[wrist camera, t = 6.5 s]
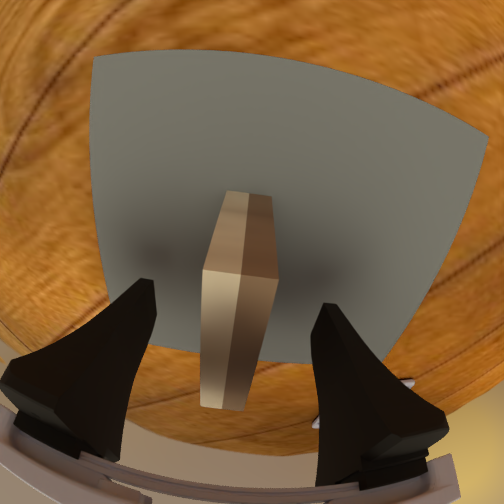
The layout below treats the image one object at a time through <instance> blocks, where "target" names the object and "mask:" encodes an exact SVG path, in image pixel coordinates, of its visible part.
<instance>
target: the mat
mask: <svg viewBox="0 0 504 504" xmlns="http://www.w3.org/2000/svg"><path fill="white" fill-rule="evenodd" d="M488 138H489V137H488V136H487V135H485V134H484V133H482V132H480V131H479V130H477V129H475V128H474V127H472V126H470V125H469V124H467V123H465V122H463V121H462V120H460V119H458V118H456V117H454V116H452V115H450V114H449V113H447V112H445V111H443V110H441V109H439V108H437V107H435V106H432V105H430V104H428V103H426V102H424V101H422V100H419V99H417V98H415V97H413V96H410V95H408V94H405V93H403V92H400V91H398V90H395V89H393V88H390V87H388V86H385V85H382V84H379V83H376V82H374V81H371V80H368V79H365V78H361V77H358V76H355V75H352V74H348V73H345V72H341V71H338V70H334V69H330V68H326V67H322V66H318V65H314V64H309V63H305V62H300V61H295V60H290V59H284V58H278V57H272V56H265V55H258V54H249V53H240V52H229V51H213V50H154V51H139V52H128V53H119V54H111V55H104V56H97V57H94V61H93V70H92V82H91V96H90V168H91V184H92V195H93V206H94V214H95V222H96V230H97V237H98V243H99V249H100V255H101V261H102V266H103V271H104V276H105V281H106V286H107V290H108V295H109V299H110V303H112V302H113V301H114V300H116V299H117V298H118V297H119V296H120V295H121V294H122V293H124V292H125V291H126V290H127V289H128V288H129V287H130V286H131V285H133V284H134V283H135V282H136V281H137V280H138V279H140V278H145V279H151V280H154V288H155V299H156V308H157V317H156V321H155V325H154V328H153V332H152V335H151V338H150V340H149V343H148V344H152V345H157V346H162V347H167V348H172V349H178V350H184V351H190V352H196V353H200V338H201V298H202V273H203V267H204V263H205V260H206V256H207V253H208V250H209V246H210V243H211V240H212V236H213V233H214V230H215V227H216V223H217V220H218V217H219V214H220V210H221V207H222V204H223V201H224V198H225V195H226V192H227V190H228V191H236V192H244V193H251V194H258V195H265V196H272V206H273V217H274V228H275V238H276V250H277V261H278V273H279V282H278V286H277V290H276V294H275V297H274V301H273V305H272V309H271V313H270V317H269V321H268V324H267V328H266V332H265V336H264V339H263V343H262V347H261V351H260V354H259V358H258V360H260V361H271V362H284V363H301V364H312V358H311V342H310V334H311V331H312V329H313V327H314V324H315V322H316V319H317V317H318V315H319V312H320V310H321V307H322V305H323V302H324V303H334V304H337V305H338V306H339V308H340V309H341V311H342V312H343V313H344V315H345V316H346V318H347V319H348V320H349V322H350V323H351V325H352V326H353V327H354V329H355V330H356V332H357V333H358V334H359V336H360V337H361V338H362V340H363V341H364V342H365V343H366V345H367V346H368V347H369V348H370V350H371V351H372V352H373V353H374V354H375V356H376V357H377V358H378V359H379V360H380V361H381V362H382V361H383V360H384V358H385V357H386V356H387V354H388V353H389V352H390V350H391V349H392V347H393V346H394V344H395V343H396V342H397V340H398V339H399V337H400V336H401V334H402V333H403V331H404V330H405V328H406V327H407V325H408V323H409V322H410V320H411V319H412V317H413V315H414V314H415V312H416V311H417V309H418V307H419V306H420V304H421V302H422V300H423V299H424V297H425V295H426V293H427V292H428V290H429V288H430V286H431V285H432V283H433V281H434V279H435V277H436V275H437V273H438V271H439V269H440V267H441V265H442V263H443V261H444V259H445V257H446V255H447V253H448V251H449V249H450V247H451V245H452V242H453V240H454V238H455V236H456V233H457V231H458V229H459V226H460V224H461V222H462V219H463V217H464V214H465V212H466V209H467V206H468V204H469V201H470V198H471V195H472V193H473V190H474V187H475V184H476V181H477V178H478V175H479V171H480V168H481V165H482V161H483V158H484V154H485V150H486V146H487V142H488Z"/></svg>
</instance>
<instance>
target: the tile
mask: <svg viewBox="0 0 504 504" xmlns="http://www.w3.org/2000/svg"><path fill="white" fill-rule="evenodd" d="M278 282H279V273H278V261H277V250H276V238H275V228H274V217H273V206H272V196H265V195H258V194H251V193H244V192H236V191H228V190H227V192H226V195H225V198H224V201H223V204H222V207H221V210H220V214H219V217H218V220H217V223H216V227H215V230H214V233H213V236H212V240H211V243H210V246H209V250H208V253H207V256H206V260H205V263H204V267H203V273H202V298H201V338H200V402H201V406H204V407H211V408H219V409H227V410H237V411H243V410H244V407H245V404H246V400H247V397H248V393H249V390H250V386H251V383H252V379H253V376H254V372H255V369H256V365H257V361H258V358H259V354H260V351H261V347H262V343H263V339H264V336H265V332H266V328H267V324H268V321H269V317H270V313H271V309H272V305H273V301H274V297H275V294H276V290H277V286H278Z"/></svg>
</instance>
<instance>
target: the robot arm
mask: <svg viewBox="0 0 504 504" xmlns="http://www.w3.org/2000/svg"><path fill="white" fill-rule="evenodd" d="M156 317H157V308H156V299H155V288H154V280H151V279H145V278H140V279H138V280H137V281H136V282H135V283H134V284H133V285H131V286H130V287H129V288H128V289H127V290H126V291H125V292H124V293H122V294H121V295H120V296H119V297H118V298H117V299H116V300H114V301H113V302H112V303H111V304H110V305H109V306H108V307H106V308H105V309H104V310H103V311H101V312H100V313H99V314H98V315H96V316H95V317H94V318H93V319H91V320H90V321H89V322H87V323H86V324H84V325H83V326H81V327H80V328H78V329H77V330H75V331H74V332H72V333H71V334H69V335H67V336H65V337H63V338H62V339H60V340H58V341H56V342H55V343H53V344H51V345H48V346H46V347H44V348H42V349H40V350H37V351H35V352H33V353H30V354H27V355H24V356H21V357H19V358H16V359H12V360H11V361H10V363H9V365H8V367H7V369H6V370H5V372H4V374H3V376H2V377H1V380H0V389H1V391H2V392H3V393H4V395H5V396H6V397H8V399H9V400H10V401H11V402H12V403H13V404H14V405H15V406H16V407H17V408H18V409H19V411H18V413H17V415H16V414H15V413H14V412H12V411H11V410H10V409H8V408H6V407H5V406H3V405H2V404H0V464H1V465H2V466H3V467H5V468H6V469H7V470H9V471H10V472H11V473H12V474H14V475H15V476H17V477H18V478H19V479H21V480H22V481H24V482H25V483H26V484H28V485H29V486H31V487H32V488H34V489H35V490H37V491H39V492H40V493H42V494H44V495H45V496H47V497H48V498H50V499H52V500H53V501H55V502H57V503H59V504H152V498H151V497H148V496H146V495H143V494H141V493H140V492H139V491H136V490H134V489H131V488H128V487H125V486H122V485H120V484H117V483H114V482H112V481H111V479H113V480H116V481H119V482H122V483H125V484H128V485H132V486H135V487H139V488H142V489H146V490H150V491H154V492H158V493H162V494H167V495H172V496H177V497H182V498H188V499H195V500H201V501H209V502H218V503H227V504H311V503H321V502H325V503H324V504H450V503H452V502H454V501H456V500H458V499H460V497H461V495H460V490H459V485H458V480H457V476H456V471H455V467H454V463H453V459H452V455H451V454H450V453H449V454H447V455H444V456H441V457H439V458H435V459H433V460H430V461H428V462H426V459H425V457H426V456H428V455H429V452H428V448H429V447H430V446H432V445H433V444H435V443H436V442H438V441H439V440H441V439H442V438H443V437H444V436H445V435H446V434H447V433H448V432H449V426H448V422H447V419H446V416H445V413H444V411H442V410H440V409H439V408H437V407H435V406H434V405H432V404H430V403H429V402H427V401H426V400H424V399H423V398H421V397H420V396H419V395H417V394H416V393H414V392H413V391H412V390H411V389H410V388H411V387H412V386H413V385H414V384H415V381H414V380H413V379H410V380H399V379H398V378H397V377H396V376H395V375H393V374H392V373H391V372H390V371H389V370H388V369H387V367H386V366H385V365H384V364H383V363H382V362H381V361H380V360H379V359H378V358H377V357H376V356H375V354H374V353H373V352H372V351H371V350H370V348H369V347H368V346H367V345H366V343H365V342H364V341H363V340H362V338H361V337H360V336H359V334H358V333H357V332H356V330H355V329H354V327H353V326H352V325H351V323H350V322H349V320H348V319H347V318H346V316H345V315H344V313H343V312H342V311H341V309H340V308H339V306H338V305H337V304H334V303H324V302H323V305H322V307H321V310H320V312H319V315H318V317H317V319H316V322H315V324H314V327H313V329H312V331H311V334H310V342H311V358H312V364H313V370H314V376H315V382H316V389H317V395H318V403H319V416H318V418H317V419H316V420H315V421H314V422H313V423H312V428H319V452H318V467H317V475H316V482H315V487H307V488H282V489H281V488H276V489H275V488H274V489H273V488H272V489H271V488H270V489H269V488H265V489H264V488H243V487H229V486H219V485H211V484H203V483H196V482H190V481H184V480H179V479H173V478H169V477H164V476H160V475H155V474H151V473H147V472H144V471H140V470H136V469H133V468H129V467H126V466H123V465H120V464H116V463H115V462H117V461H119V460H120V452H121V442H122V434H123V428H124V421H125V416H126V411H127V406H128V401H129V397H130V393H131V389H132V385H133V381H134V378H135V375H136V373H137V370H138V368H139V365H140V363H141V360H142V358H143V355H144V353H145V350H146V348H147V345H148V343H149V340H150V338H151V335H152V332H153V328H154V325H155V321H156ZM109 478H110V479H109Z"/></svg>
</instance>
